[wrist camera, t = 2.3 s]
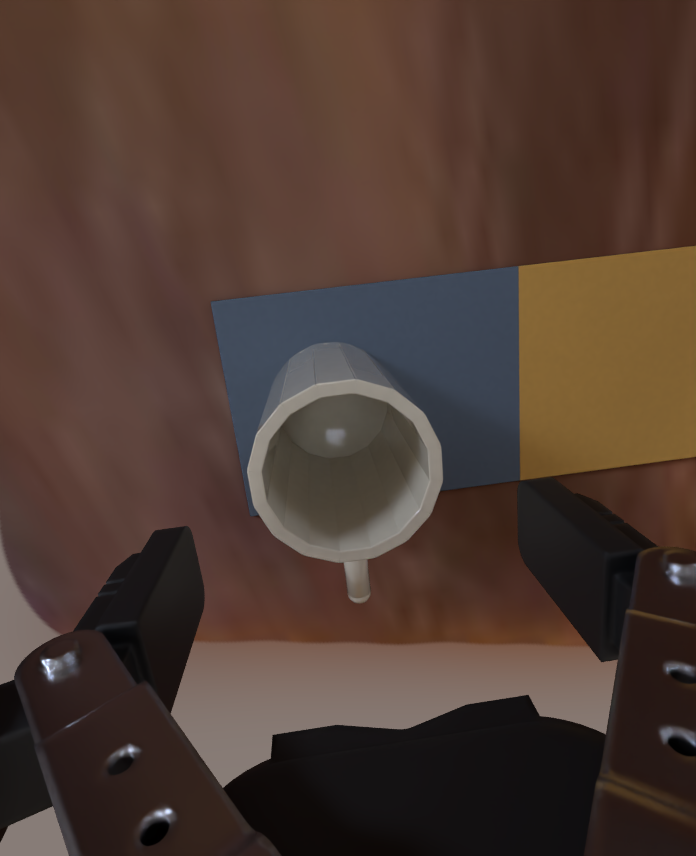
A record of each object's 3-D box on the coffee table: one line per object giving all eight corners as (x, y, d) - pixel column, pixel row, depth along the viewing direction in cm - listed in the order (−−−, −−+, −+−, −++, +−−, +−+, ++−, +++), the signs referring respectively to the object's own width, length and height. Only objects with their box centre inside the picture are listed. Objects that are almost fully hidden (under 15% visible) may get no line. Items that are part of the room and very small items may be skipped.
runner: (211, 301, 23) (210, 301, 23) (728, 241, 24) (731, 241, 24) (250, 514, 26) (250, 516, 26) (705, 454, 27) (707, 455, 27)
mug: (261, 349, 24) (232, 394, 15) (388, 334, 24) (437, 368, 15) (288, 520, 26) (278, 647, 17) (402, 504, 27) (451, 622, 17)
